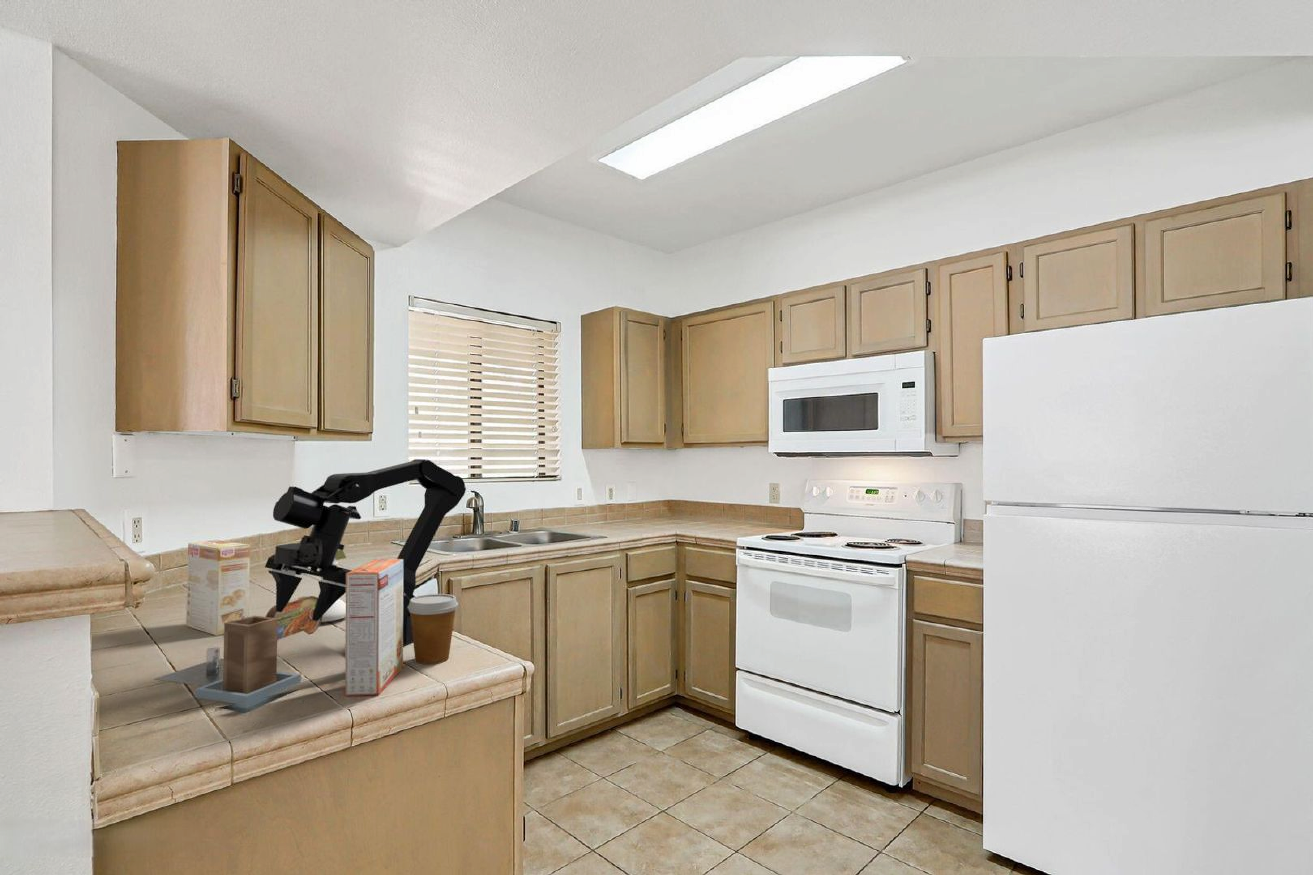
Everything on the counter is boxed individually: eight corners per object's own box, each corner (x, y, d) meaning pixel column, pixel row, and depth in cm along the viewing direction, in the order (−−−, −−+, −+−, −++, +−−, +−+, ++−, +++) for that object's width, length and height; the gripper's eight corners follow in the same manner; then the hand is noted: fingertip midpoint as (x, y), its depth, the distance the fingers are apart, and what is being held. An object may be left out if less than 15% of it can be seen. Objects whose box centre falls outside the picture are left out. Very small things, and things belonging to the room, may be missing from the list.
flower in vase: (289, 621, 157) (291, 517, 157) (335, 611, 166) (337, 514, 167) (317, 629, 149) (320, 520, 150) (364, 619, 158) (366, 517, 159)
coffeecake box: (249, 629, 149) (251, 544, 150) (215, 636, 143) (217, 547, 144) (218, 619, 157) (220, 539, 158) (184, 626, 151) (186, 542, 152)
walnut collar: (253, 685, 112) (254, 615, 112) (276, 689, 110) (277, 618, 110) (222, 696, 107) (224, 623, 107) (246, 701, 105) (248, 626, 105)
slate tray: (300, 689, 112) (300, 674, 112) (246, 712, 102) (246, 696, 102) (252, 682, 115) (252, 668, 115) (194, 704, 105) (195, 689, 105)
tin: (273, 648, 135) (274, 607, 135) (260, 647, 136) (261, 606, 136) (323, 629, 150) (324, 592, 150) (312, 628, 151) (312, 591, 151)
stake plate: (267, 670, 121) (267, 642, 121) (206, 693, 110) (207, 662, 110) (217, 664, 124) (218, 637, 125) (153, 685, 113) (154, 655, 113)
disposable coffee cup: (466, 655, 132) (467, 595, 132) (436, 669, 123) (437, 605, 123) (428, 650, 135) (429, 591, 135) (395, 663, 126) (396, 601, 126)
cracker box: (371, 669, 122) (373, 558, 123) (404, 668, 123) (406, 558, 124) (341, 697, 109) (344, 571, 109) (378, 696, 109) (381, 571, 110)
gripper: (257, 518, 123) (223, 601, 118) (332, 531, 117) (299, 619, 112) (303, 532, 133) (273, 609, 128) (374, 545, 126) (346, 627, 121)
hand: (296, 616), depth 122 cm, fingers open, 9 cm apart
